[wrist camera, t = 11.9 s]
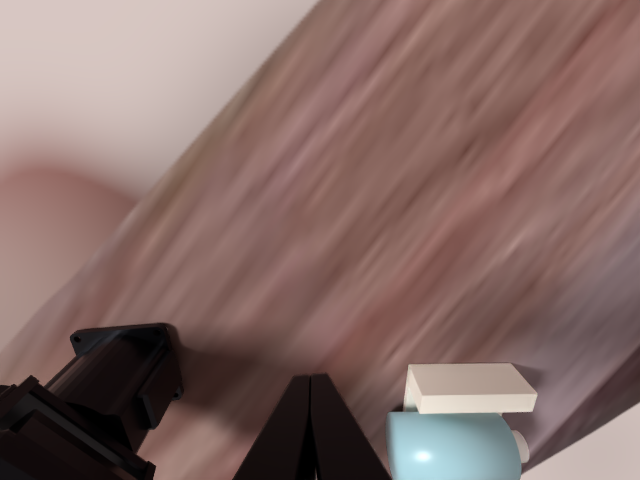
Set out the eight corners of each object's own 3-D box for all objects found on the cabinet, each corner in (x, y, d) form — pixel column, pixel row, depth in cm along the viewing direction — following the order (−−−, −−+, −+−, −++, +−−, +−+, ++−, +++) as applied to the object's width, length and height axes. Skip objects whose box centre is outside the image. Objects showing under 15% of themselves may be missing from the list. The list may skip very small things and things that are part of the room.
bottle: (397, 502, 21) (530, 500, 22) (406, 461, 19) (552, 459, 20) (383, 437, 26) (494, 435, 26) (389, 398, 24) (509, 397, 24)
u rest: (396, 459, 27) (406, 497, 24) (408, 364, 24) (422, 395, 21) (486, 457, 27) (506, 494, 24) (510, 362, 24) (537, 393, 21)
